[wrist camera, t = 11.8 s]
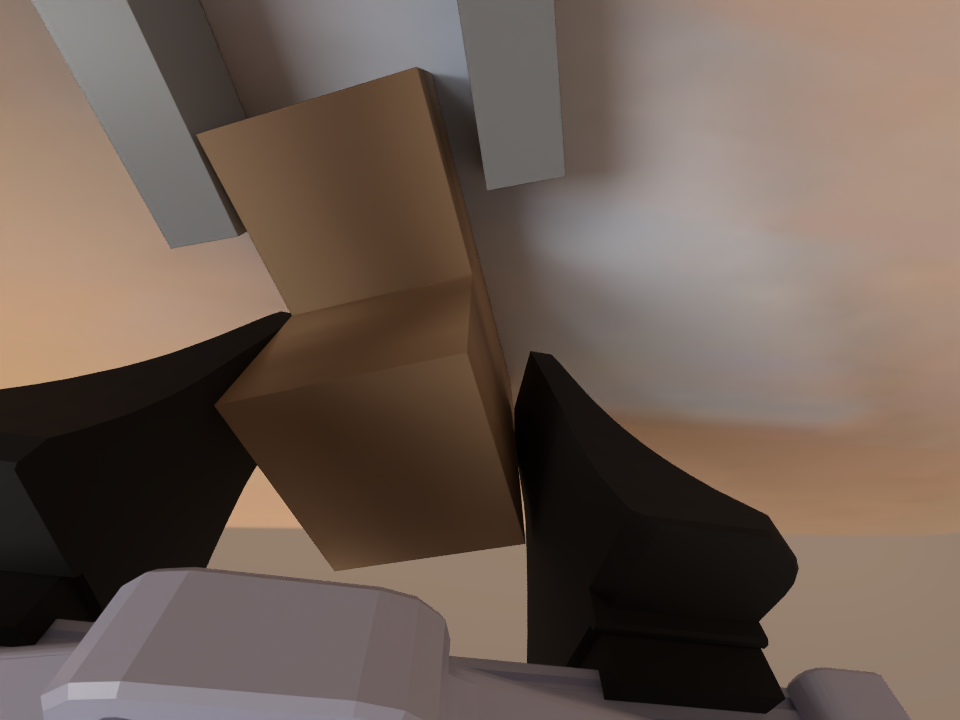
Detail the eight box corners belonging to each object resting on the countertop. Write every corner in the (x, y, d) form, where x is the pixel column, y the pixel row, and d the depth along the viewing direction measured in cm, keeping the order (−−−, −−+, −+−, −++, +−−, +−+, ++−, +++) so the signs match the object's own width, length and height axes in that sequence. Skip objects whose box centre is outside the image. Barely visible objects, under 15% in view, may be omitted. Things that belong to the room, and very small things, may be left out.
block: (385, 409, 15) (334, 571, 10) (254, 126, 10) (32, 156, 5) (510, 384, 14) (525, 543, 9) (431, 72, 10) (373, 49, 5)
